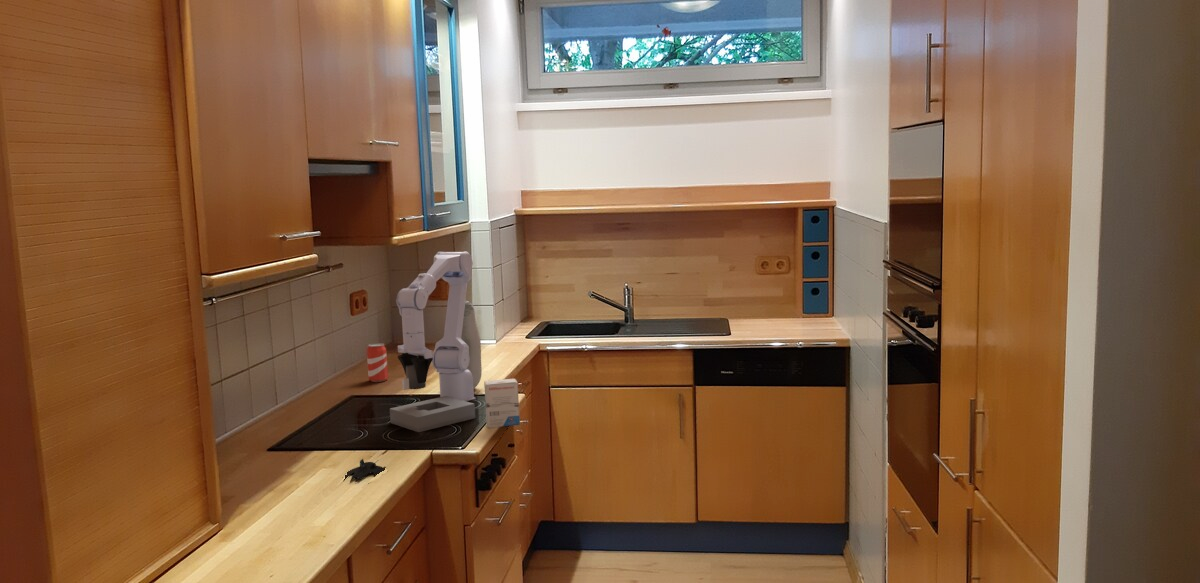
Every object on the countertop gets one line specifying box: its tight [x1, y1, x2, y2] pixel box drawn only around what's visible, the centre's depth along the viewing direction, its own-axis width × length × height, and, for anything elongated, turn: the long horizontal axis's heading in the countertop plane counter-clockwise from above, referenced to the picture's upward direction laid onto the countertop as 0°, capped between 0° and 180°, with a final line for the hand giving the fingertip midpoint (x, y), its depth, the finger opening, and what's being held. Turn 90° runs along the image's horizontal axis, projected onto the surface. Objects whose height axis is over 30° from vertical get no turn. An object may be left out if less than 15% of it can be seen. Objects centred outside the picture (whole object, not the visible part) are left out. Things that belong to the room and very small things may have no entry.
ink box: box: [483, 378, 521, 429], centre depth 242 cm, size 9×5×12 cm, turn 101°
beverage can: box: [366, 342, 389, 383], centre depth 300 cm, size 6×6×12 cm
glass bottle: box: [448, 299, 483, 389], centre depth 282 cm, size 10×10×28 cm
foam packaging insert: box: [389, 396, 476, 433], centre depth 249 cm, size 18×14×4 cm
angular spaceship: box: [344, 458, 387, 483], centre depth 204 cm, size 11×15×3 cm
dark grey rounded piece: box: [401, 364, 427, 391], centre depth 250 cm, size 6×5×6 cm
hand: (416, 381), depth 250 cm, fingers closed on dark grey rounded piece, 5 cm apart
